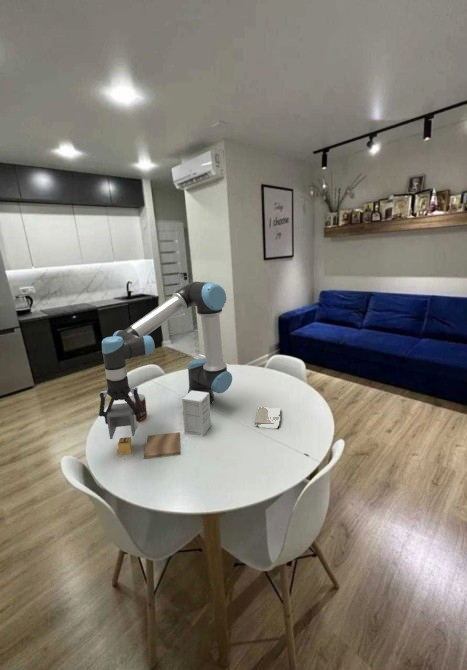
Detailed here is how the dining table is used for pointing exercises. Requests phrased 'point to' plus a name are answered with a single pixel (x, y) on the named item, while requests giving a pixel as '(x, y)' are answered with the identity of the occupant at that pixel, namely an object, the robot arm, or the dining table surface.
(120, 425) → the grey box with opening
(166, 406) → the dining table surface
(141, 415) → the canned food
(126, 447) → the letter cube
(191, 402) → the supplement box
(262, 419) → the washcloth
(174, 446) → the walnut board
